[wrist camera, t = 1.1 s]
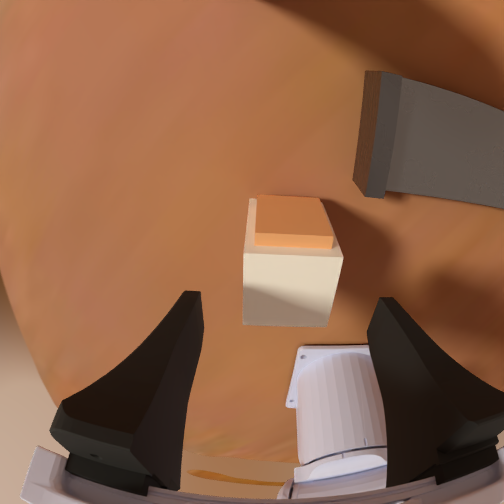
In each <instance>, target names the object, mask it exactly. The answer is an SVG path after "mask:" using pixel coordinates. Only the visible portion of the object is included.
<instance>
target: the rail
mask: <svg viewBox="0 0 504 504" xmlns="http://www.w3.org/2000/svg"><path fill="white" fill-rule="evenodd" d="M353 181H354V182H355V184H356V185H357V186H358V188H359V189H360V191H361V192H362V193H363V195H364V196H365V197H372V198H382V199H384V195H385V190H386V191H394V192H402V193H410V194H418V195H425V196H432V197H439V198H445V199H452V200H458V201H464V202H470V203H476V204H481V205H487V206H492V207H497V208H502V209H504V111H501V110H499V109H497V108H494V107H492V106H490V105H487V104H485V103H482V102H479V101H477V100H474V99H471V98H469V97H466V96H463V95H460V94H457V93H454V92H451V91H448V90H445V89H442V88H439V87H436V86H432V85H429V84H425V83H422V82H418V81H414V80H411V79H407V78H403V77H402V76H400V75H396V74H392V73H387V72H383V71H365V80H364V91H363V102H362V111H361V120H360V129H359V137H358V145H357V152H356V160H355V166H354V173H353Z"/></svg>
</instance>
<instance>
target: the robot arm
mask: <svg viewBox="0 0 504 504" xmlns="http://www.w3.org/2000/svg"><path fill="white" fill-rule="evenodd" d="M203 333H204V321H203V312H202V302H201V292H200V291H184V292H183V293H182V295H181V296H180V297H179V299H178V300H177V302H176V303H175V304H174V306H173V307H172V308H171V310H170V311H169V312H168V314H167V315H166V316H165V317H164V318H163V320H162V321H161V322H160V323H159V325H158V326H157V327H156V328H155V329H154V330H153V332H152V333H151V334H150V335H149V336H148V337H147V338H146V339H145V340H144V341H143V342H142V344H141V345H140V346H139V347H138V348H137V349H135V350H134V351H133V352H132V353H131V354H130V355H129V356H128V357H127V358H126V359H125V360H123V361H122V362H121V363H120V364H119V365H117V366H116V367H115V368H114V369H112V370H111V371H110V372H109V373H107V374H106V375H104V376H103V377H101V378H100V379H99V380H97V381H96V382H94V383H93V384H91V385H90V386H88V387H86V388H85V389H83V390H81V391H79V392H77V393H76V394H74V395H72V396H70V397H68V398H66V399H64V400H62V402H61V404H60V406H59V408H58V410H57V413H56V415H55V417H54V420H53V422H52V425H51V428H50V433H51V435H52V436H53V438H54V439H55V440H56V441H58V442H59V443H60V444H61V445H62V446H63V447H64V448H65V449H66V450H68V451H69V452H70V454H69V458H68V459H67V458H66V457H64V456H62V455H60V454H57V453H55V452H52V451H50V450H47V449H45V448H43V447H40V446H36V449H35V451H34V454H33V457H32V460H31V462H30V466H29V468H28V471H27V475H26V478H25V481H24V484H23V487H22V491H21V494H20V498H21V499H22V500H24V501H26V502H28V503H29V504H501V503H502V502H504V446H503V447H501V448H500V449H498V450H496V446H495V445H496V444H497V443H498V442H499V440H498V437H497V435H498V434H499V433H501V432H502V431H503V430H504V392H502V391H500V390H498V389H496V388H494V387H492V386H491V385H489V384H487V383H486V382H484V381H482V380H481V379H479V378H478V377H476V376H475V375H473V374H472V373H470V372H469V371H468V370H466V369H465V368H464V367H462V366H461V365H460V364H458V363H457V362H456V361H455V360H454V359H452V358H451V357H450V356H449V355H448V354H447V353H446V352H444V351H443V350H442V349H441V348H440V347H439V346H438V345H437V344H436V343H435V342H434V341H433V340H432V339H431V338H430V337H429V336H428V335H427V334H426V333H425V332H424V331H423V330H422V329H421V327H420V326H419V325H418V324H417V323H416V322H415V321H414V320H413V319H412V318H411V316H410V315H409V314H408V313H407V312H406V311H405V310H404V309H403V308H402V307H401V306H400V304H399V303H398V302H397V301H396V300H395V299H394V298H393V297H380V298H379V301H378V303H377V306H376V309H375V311H374V314H373V317H372V319H371V322H370V325H369V327H368V330H367V338H368V345H347V346H301V347H300V348H299V349H298V351H297V356H296V361H295V365H294V370H293V374H292V378H291V383H290V387H289V391H288V396H287V400H286V407H288V408H296V416H297V440H298V458H299V461H300V464H301V467H295V468H294V478H291V479H289V480H287V481H286V482H285V484H284V485H283V487H282V488H281V489H280V491H279V493H278V496H277V499H247V498H245V499H244V498H230V497H217V496H208V495H199V494H191V493H185V492H178V490H179V489H180V477H181V461H182V449H183V439H184V429H185V421H186V413H187V406H188V400H189V396H190V392H191V388H192V384H193V380H194V376H195V372H196V368H197V364H198V360H199V357H200V353H201V348H202V341H203Z"/></svg>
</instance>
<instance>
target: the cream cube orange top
mask: <svg viewBox="0 0 504 504" xmlns="http://www.w3.org/2000/svg"><path fill="white" fill-rule="evenodd" d="M343 258H344V257H343V254H342V252H341V249H340V246H339V244H338V241H337V238H336V236H335V233H334V230H333V228H332V225H331V223H330V220H329V218H328V215H327V213H326V210H325V208H324V205H323V203H322V202H320V199H319V198H312V197H296V196H278V195H257V199H254V198H250V200H249V209H248V218H247V228H246V237H245V246H244V266H243V325H259V326H289V327H327V323H328V320H329V316H330V312H331V308H332V304H333V300H334V296H335V292H336V288H337V284H338V280H339V276H340V271H341V267H342V262H343Z"/></svg>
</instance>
